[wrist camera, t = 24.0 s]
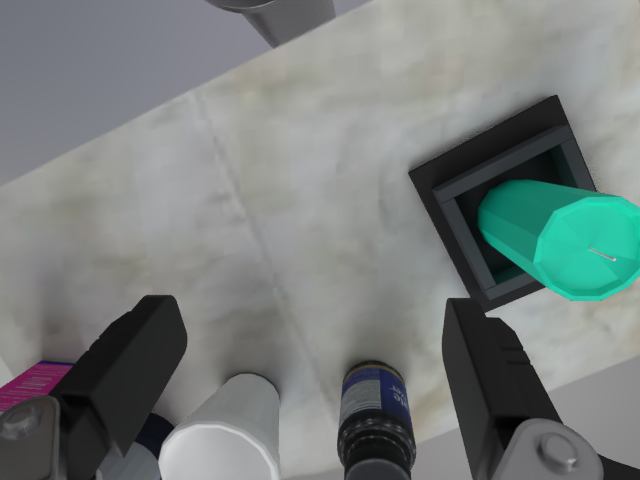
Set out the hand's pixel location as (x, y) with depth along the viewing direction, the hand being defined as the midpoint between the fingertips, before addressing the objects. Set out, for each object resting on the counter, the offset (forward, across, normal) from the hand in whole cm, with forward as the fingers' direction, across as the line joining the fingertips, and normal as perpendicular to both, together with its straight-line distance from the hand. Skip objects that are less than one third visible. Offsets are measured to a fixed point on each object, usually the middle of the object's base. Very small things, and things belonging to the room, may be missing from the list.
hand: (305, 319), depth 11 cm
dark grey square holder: (+21, -14, +6) cm, 26 cm away
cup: (+16, +10, +24) cm, 31 cm away
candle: (+20, -14, +6) cm, 25 cm away
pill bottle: (+17, -2, +23) cm, 28 cm away
